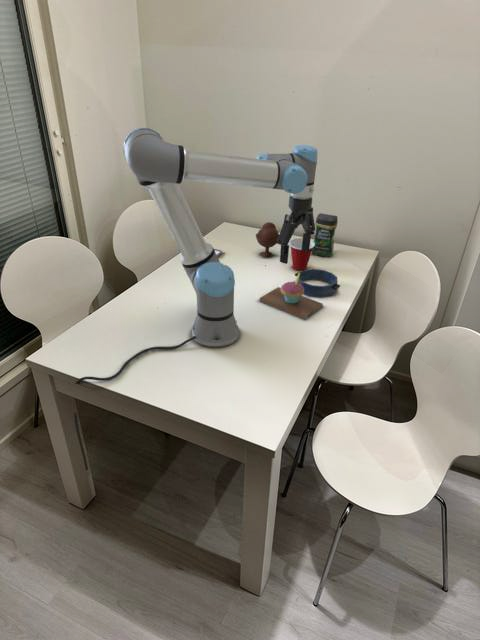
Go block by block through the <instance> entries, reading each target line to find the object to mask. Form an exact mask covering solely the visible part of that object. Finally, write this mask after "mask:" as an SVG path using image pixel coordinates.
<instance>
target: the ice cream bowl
mask: <svg viewBox="0 0 480 640" xmlns="http://www.w3.org/2000/svg"><path fill="white" fill-rule="evenodd" d="M279 235H280V232H279V231H278V230H277V227H276V225H275V224H274V223H273V222H269V221H268V222H265V223H264V224H263V225H262V227H261V228H260V229H259V230H258V232H257V233H256V234H255V238H256V240H257V243H258V244H259V245H260V246H262V247H263V248H264V251H262V252H261V253H260V257H262V258H266V259H268V258H272V257H273V253H272V252H271V251H270V248H273V247H274V246H276V245H278V244H277V240H278V238H279Z"/></svg>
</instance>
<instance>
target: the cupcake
mask: <svg viewBox="0 0 480 640" xmlns="http://www.w3.org/2000/svg"><path fill="white" fill-rule="evenodd" d="M298 272H299V271H298ZM298 272H297V273H298ZM300 272H301V271H300ZM300 272H299V273H298V276H296V279H295V281H288V282H284V283H283V284H282V285H281V286H280V288H281V292H282V294H283V295H284V297H285V301H286V302H288V303H297V302H298V300H299V298H300V296H304V295H305V294H304V287H303V286H302V285H301V284H299V283H298V279H299V276H300Z"/></svg>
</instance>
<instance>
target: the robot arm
mask: <svg viewBox="0 0 480 640" xmlns="http://www.w3.org/2000/svg"><path fill="white" fill-rule="evenodd" d="M122 149H123V156H124V158H125V159H126V161H127V165H128V167H129V169H130V170H131V172H132V173H133V174H134V176H135V178H136V180H137V182H138V184H139V185H140V187H142V188H145V189H147V190H148V192H149V194H150V196H151V198H152V199H153V202H154V203H155V205H156V207H157V209H158V211H159V214H160V215H161V216H162V217H161V218H162V219H163V221H164V222H165V225H166V226H167V228H168V230H169V232H170V234H171V236H172V238H173V240H174V242H175V244H176V246H177V248H178V250H179V251H180V254H181V255H180V258H179V261H180V263H181V266H182V267H183V270H184V271H185V273H186V275H187V277H188V279H189V281H190V283H191V285H192V287H193V290H194V292H195V295H196V311H197V312H196V316H195V320H194V323H193V326H192V328H191V336H192V337H190V338H188V339H186V340H184V341H183V342H180V343H179V344H177V345H174V346H173V345H172V346H152V347H148V348H145V349H142V350H140V351H139V352H137V353H135V354H134V355H132V357H129V359H127V360H126V361H125V362H124V363H123V364H122V366H121V367H120V368H119V370H118V371H117V372H116V373H115V374H113V375H111V376H108V377H97V376H83V377H80V378H79V379H78V380H76V382H74V383H75V385H78V384H80V382H82V381H85V380H92V381H100V382H102V381H104V382H107V381H111V380H113V379H115V378H116V377H118V376H119V375H120V374H122V372H123V370H124V369H125V367H126V366H127V365H129V363H130V362H132V361H133V360H135V359H136V358H137V357H139V356H140V355H142V354H145V353H147V352H150V351H154V350H174V349H178V348H179V349H180V348H181V347H183V346H184V345H186V344H187V343H190V342H191V341H194V342H196V343H197V344H199V345H201V346H204V347H207V348H223V347H227V346H230V345H232V344H234V343H235V342H236V341H237V340H238V339H239V333H240V329H239V326H238V321H237V319H236V317H235V314H234V312H235V310H234V308H235V285H236V279H235V273H234V271H233V269H232V268H231V267H230V266H229V265H227V264H224V263H223V262H221V261H220V259H219V256H218V257H217V255H216V252H215V250H214V249H215V248H214V246H213V245H212V244H211V243H209V242H206V240H205V238H204V236H203V234H202V231H201V229H200V228H199V226H198V223H197V220H196V218H195V216H194V215H193V213H192V211H191V209H190V206H189V204H188V202H187V200H186V198H185V195H184V194H183V191H182V189H181V188H180V185H182V184H183V183H185V181H187V182H198V183H199V182H200V183H207V184H221V185H231V186H239V187H240V186H241V187H252V188H261V189H262V188H263V189H272V190H273V189H274V190H280V191H281V190H282V191H284V192H286V193H287V194H288V193H289V195H290V196H289V198H288V208H289V209H290V214H287V213H286V214H285V215H284V217H283V218H284V219H283V223H282V226H281V229H280V232H279V238H278V240H277V244H276V245H280V252H279V263H282V264H285V265H287V264H288V262H289V253H290V252H289V251H290V245H289V241H290V240H292V237H293V235H294V233H295V231H296V229H298V228H299V226H302V227H301V228H302V229H303V231H304V233H302V238H303V241H302V250H301V251H304V252H307V253H308V252H309V247H310V240H312V239H311V237H312V236H315V232H316V225H315V217H314V207H312V205H313V198H312V197H313V196H314V191H315V189H314V187H315V180H316V178H315V177H316V170H317V165H318V149H317V147H315V146H314V145H313V146H312V145H307V144H299V145H295V146H294V147H293V150H292V152H290V153H268V152H267V153H261V154H258V155H257V156H256V158H254V157H245V156H237V155H229V154H221V153H213V152H211V153H210V152H203V151H194V150H188V149H187V148H186V146H184V145H182V144H181V145H179V144H174V143H170V142H169V141H165V140H164V139H163V137H162V136H161V135H160V133H159V132H157V131H156V130H154V129H151V128H148V127H138V128H135V129H133V130H132V131H131V132H129V133H128V134H127V136H126V138H125V140H124V142H123V147H122ZM73 419H74V425H75V431H76V434H77V439H78V443H79V448H80V450H81V454H82V459H83V463H84V464H83V465H84V468H85V471H89V468H88V462H87V456H86V453H85V449H84V444H83V441H82V437H81V432H80V428H79V421H78V414H77V413H76V412H73Z"/></svg>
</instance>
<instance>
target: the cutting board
mask: <svg viewBox="0 0 480 640" xmlns="http://www.w3.org/2000/svg"><path fill="white" fill-rule="evenodd" d="M259 303H263V304H265V305H267V306H270V307H272V308H275V309H278V310H280V311H282V312H285V313H287V314H290V315H292V316H294V317H297V318H300V319H303V320H307V319H308V318H310V317H311V316H312V315H313V314H315V313H317V312H318V311H319V310H321V309H322V308H323V306H324V303H322V302H320V301H316V300H315V299H312V298H309V297H306V296H304V295H302V296H300V298H299V300H298V302H297V303H288V302H286V301H285V297H284V295H283V294H282V292H281V286H277V287H276V288H274V289H273V290H271V291H269V292H268V293H265V294H263V295H262V296H260V297H259Z"/></svg>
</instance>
